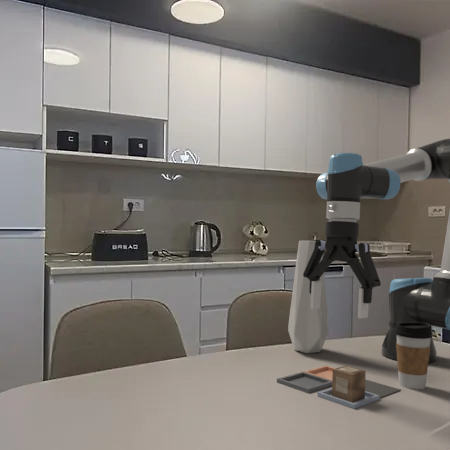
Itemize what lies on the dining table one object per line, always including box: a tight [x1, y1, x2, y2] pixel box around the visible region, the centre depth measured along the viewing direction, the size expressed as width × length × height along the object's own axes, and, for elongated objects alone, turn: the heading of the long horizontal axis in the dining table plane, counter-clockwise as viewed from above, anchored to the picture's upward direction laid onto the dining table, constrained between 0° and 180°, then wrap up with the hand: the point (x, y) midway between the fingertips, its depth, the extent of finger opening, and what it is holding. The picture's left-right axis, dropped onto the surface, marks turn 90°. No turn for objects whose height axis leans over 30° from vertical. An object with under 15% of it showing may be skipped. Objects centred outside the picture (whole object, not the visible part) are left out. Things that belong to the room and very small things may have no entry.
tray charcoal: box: [276, 371, 332, 394], centre depth 119 cm, size 9×9×1 cm
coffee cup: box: [395, 322, 434, 390], centre depth 121 cm, size 8×8×15 cm
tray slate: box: [316, 387, 380, 410], centre depth 110 cm, size 9×9×1 cm
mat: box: [365, 379, 401, 400], centre depth 117 cm, size 9×9×1 cm
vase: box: [287, 239, 330, 354], centre depth 152 cm, size 12×12×33 cm
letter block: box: [331, 365, 367, 403], centre depth 110 cm, size 5×5×6 cm
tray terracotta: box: [303, 365, 336, 381], centre depth 126 cm, size 9×9×1 cm
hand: (338, 313), depth 117 cm, fingers open, 13 cm apart
